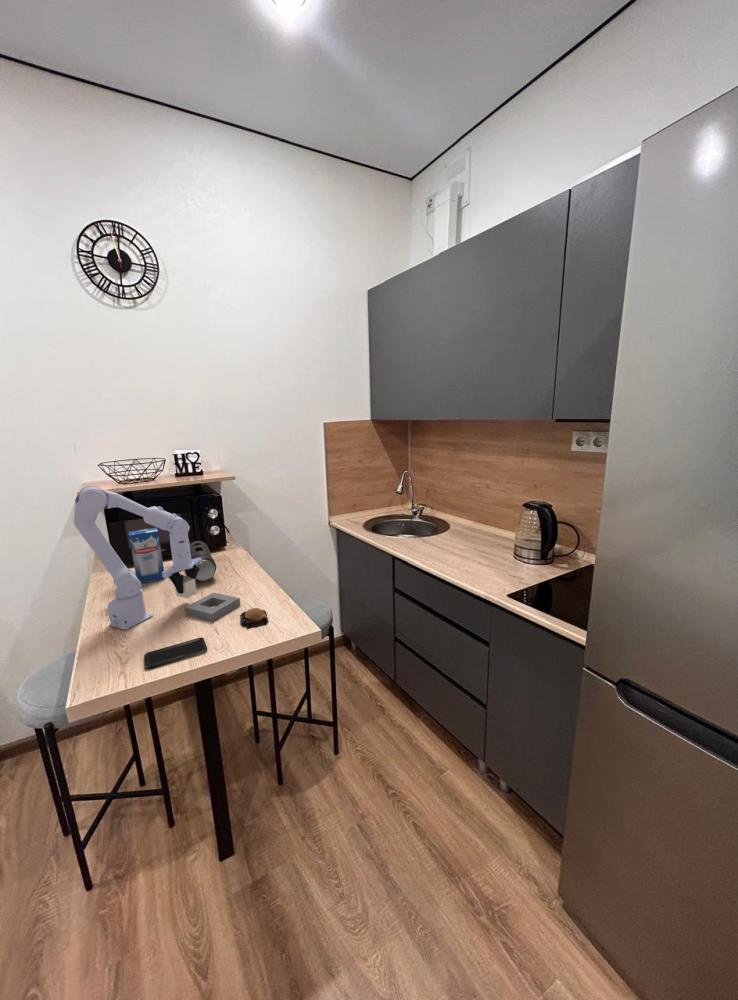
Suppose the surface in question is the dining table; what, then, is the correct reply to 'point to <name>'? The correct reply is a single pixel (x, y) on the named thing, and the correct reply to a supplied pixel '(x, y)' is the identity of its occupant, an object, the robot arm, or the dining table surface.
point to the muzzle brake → (203, 560)
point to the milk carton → (147, 555)
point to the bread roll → (253, 618)
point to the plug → (188, 587)
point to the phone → (174, 653)
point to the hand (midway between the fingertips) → (186, 590)
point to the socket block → (211, 614)
